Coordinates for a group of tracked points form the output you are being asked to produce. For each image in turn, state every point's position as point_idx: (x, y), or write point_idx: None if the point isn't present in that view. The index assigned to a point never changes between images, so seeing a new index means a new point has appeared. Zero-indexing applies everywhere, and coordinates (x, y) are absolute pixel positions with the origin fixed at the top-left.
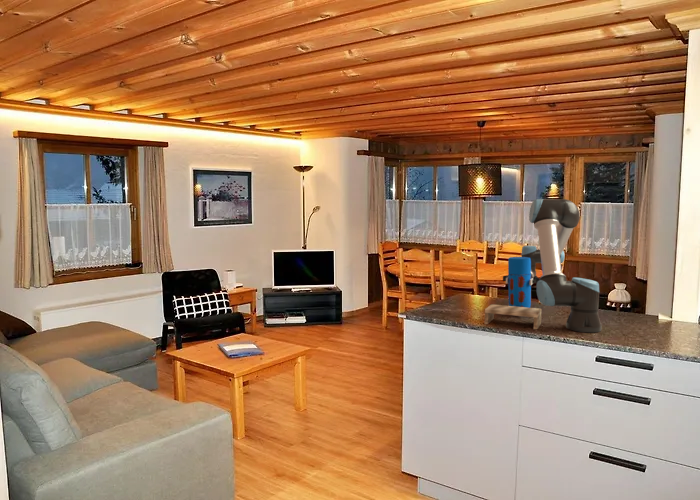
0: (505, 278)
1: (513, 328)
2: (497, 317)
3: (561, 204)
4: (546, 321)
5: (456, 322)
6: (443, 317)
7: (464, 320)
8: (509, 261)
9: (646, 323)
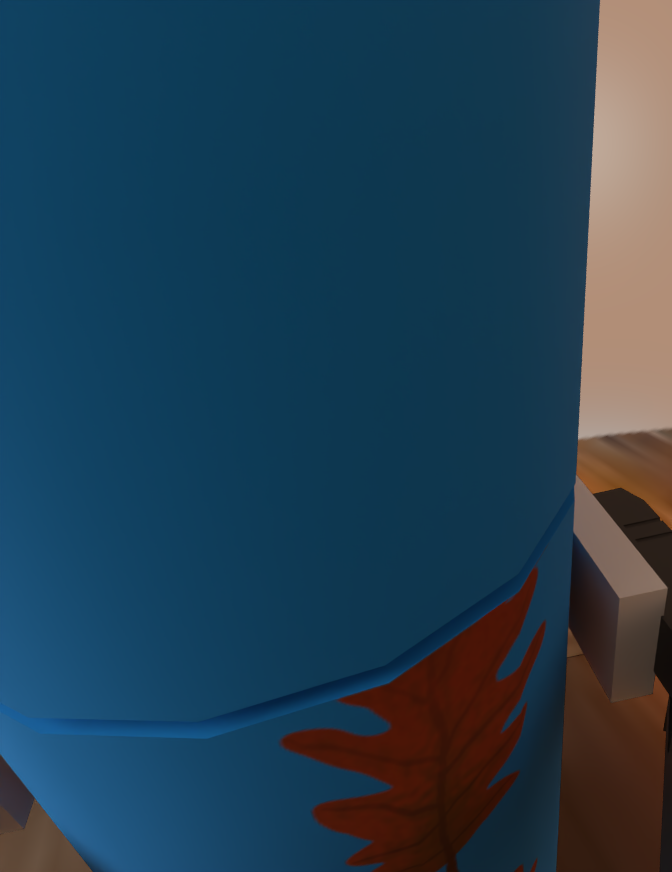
0: (615, 490)
1: None
2: (568, 717)
3: None
4: (80, 867)
5: (650, 432)
6: None
7: (666, 483)
8: None
9: None
